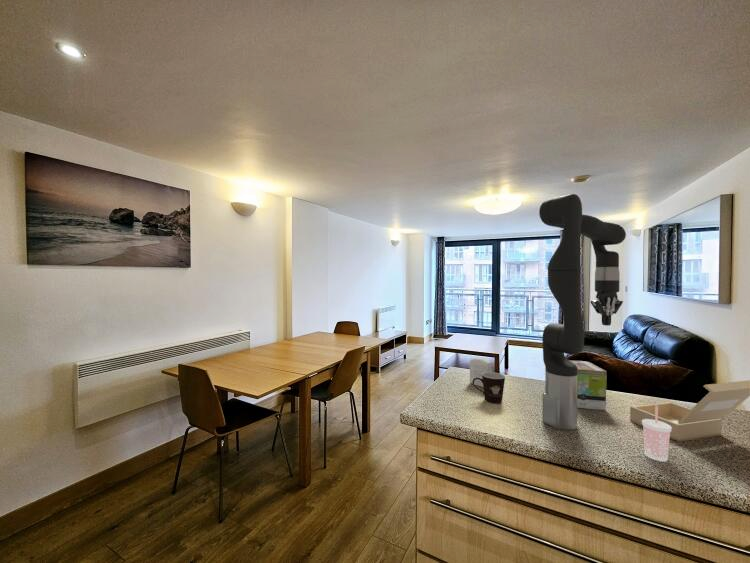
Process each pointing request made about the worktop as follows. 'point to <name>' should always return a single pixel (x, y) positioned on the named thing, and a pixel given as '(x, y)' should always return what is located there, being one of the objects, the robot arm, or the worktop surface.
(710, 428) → the mailer box
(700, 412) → the lid
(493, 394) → the coffee mug
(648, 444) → the beverage cup
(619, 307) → the robot arm
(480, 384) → the photo printer
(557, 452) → the worktop surface
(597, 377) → the tea box
